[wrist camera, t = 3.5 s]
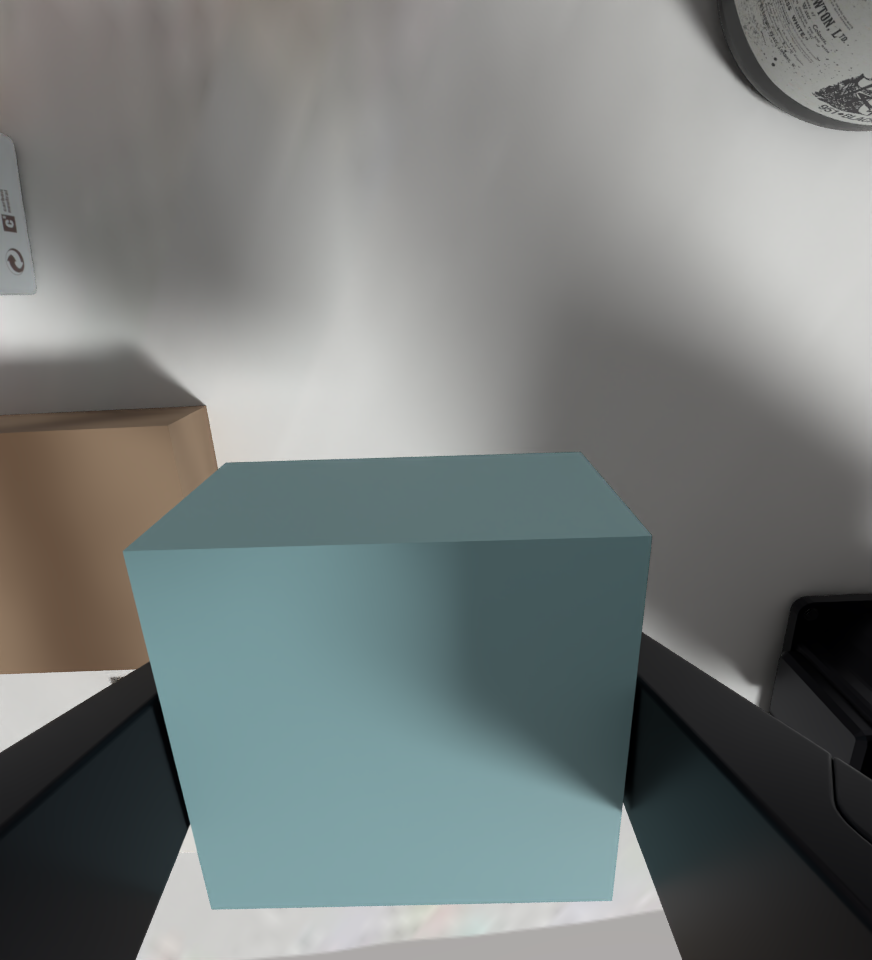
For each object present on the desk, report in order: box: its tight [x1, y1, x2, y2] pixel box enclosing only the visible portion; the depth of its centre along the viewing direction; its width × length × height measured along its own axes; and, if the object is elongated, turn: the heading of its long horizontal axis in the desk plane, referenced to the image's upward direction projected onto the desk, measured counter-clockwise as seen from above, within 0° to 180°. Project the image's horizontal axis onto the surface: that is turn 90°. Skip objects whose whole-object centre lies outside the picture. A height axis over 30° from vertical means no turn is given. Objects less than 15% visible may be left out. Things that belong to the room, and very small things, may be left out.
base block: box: [0, 406, 218, 674], centre depth 18 cm, size 8×8×3 cm
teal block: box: [123, 452, 652, 909], centre depth 8 cm, size 6×6×3 cm
